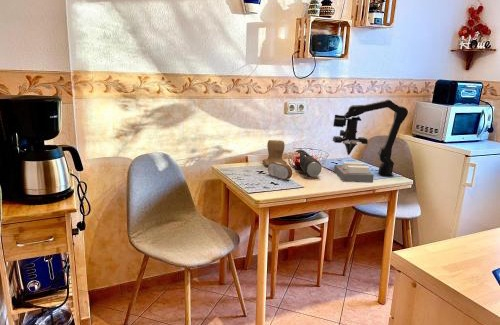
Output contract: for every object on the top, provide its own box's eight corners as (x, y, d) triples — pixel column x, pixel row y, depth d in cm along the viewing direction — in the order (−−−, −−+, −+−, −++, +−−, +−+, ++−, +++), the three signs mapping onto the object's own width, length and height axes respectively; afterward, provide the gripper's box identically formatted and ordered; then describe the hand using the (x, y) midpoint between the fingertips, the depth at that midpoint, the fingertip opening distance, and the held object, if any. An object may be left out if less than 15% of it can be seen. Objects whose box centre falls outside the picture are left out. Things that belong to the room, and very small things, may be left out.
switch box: (360, 172, 218) (361, 165, 217) (372, 182, 200) (373, 174, 199) (333, 171, 217) (334, 164, 216) (343, 181, 199) (344, 173, 198)
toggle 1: (361, 168, 210) (362, 162, 209) (363, 169, 207) (364, 164, 206) (342, 167, 209) (343, 162, 208) (344, 169, 206) (344, 163, 205)
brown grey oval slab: (292, 180, 196) (293, 165, 194) (288, 181, 194) (289, 166, 192) (270, 174, 206) (270, 159, 204) (266, 175, 204) (267, 160, 202)
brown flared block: (279, 161, 235) (281, 137, 232) (289, 165, 225) (290, 141, 221) (257, 162, 229) (259, 138, 225) (266, 167, 219) (268, 142, 215)
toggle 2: (366, 171, 203) (367, 166, 202) (368, 173, 200) (369, 167, 199) (346, 171, 202) (347, 165, 201) (348, 172, 199) (348, 167, 198)
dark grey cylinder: (306, 165, 228) (308, 149, 225) (321, 179, 201) (323, 161, 198) (291, 165, 226) (292, 148, 224) (304, 179, 200) (306, 160, 197)
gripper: (362, 126, 221) (359, 152, 225) (331, 124, 220) (328, 150, 224) (369, 129, 210) (366, 156, 214) (336, 128, 209) (333, 155, 213)
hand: (348, 154), depth 216 cm, fingers closed
